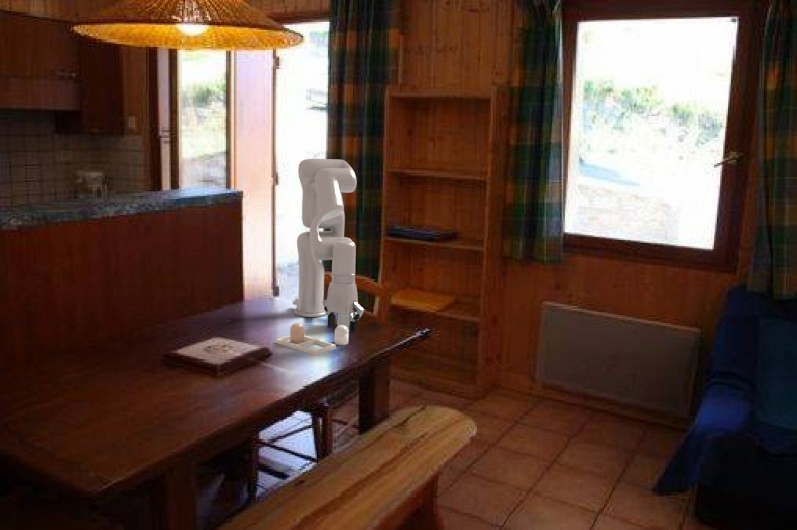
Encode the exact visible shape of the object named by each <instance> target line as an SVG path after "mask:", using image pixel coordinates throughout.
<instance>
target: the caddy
mask: <svg viewBox="0 0 797 530" xmlns="http://www.w3.org/2000/svg"><path fill="white" fill-rule="evenodd" d="M275 343H276V344H278V345H282V346H285V347H289V348H291V349H295V350H298V351H300V352H304V353H307V354H310V355H314V356H317V355H320V354H322V353H325V352H329V351H333V350H336V349H337V344H335V343H332V342H328V341H325V340H321V339H317V338H314V337H312V336H307V335H305V334H304V342H303V343H299V344H293V343H290V335H287V336H283V337H280V338H276V342H275ZM314 344H317V345H320V346H323V347H321V348H318V349H312V348H308V346H311V345H314Z"/></svg>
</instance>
